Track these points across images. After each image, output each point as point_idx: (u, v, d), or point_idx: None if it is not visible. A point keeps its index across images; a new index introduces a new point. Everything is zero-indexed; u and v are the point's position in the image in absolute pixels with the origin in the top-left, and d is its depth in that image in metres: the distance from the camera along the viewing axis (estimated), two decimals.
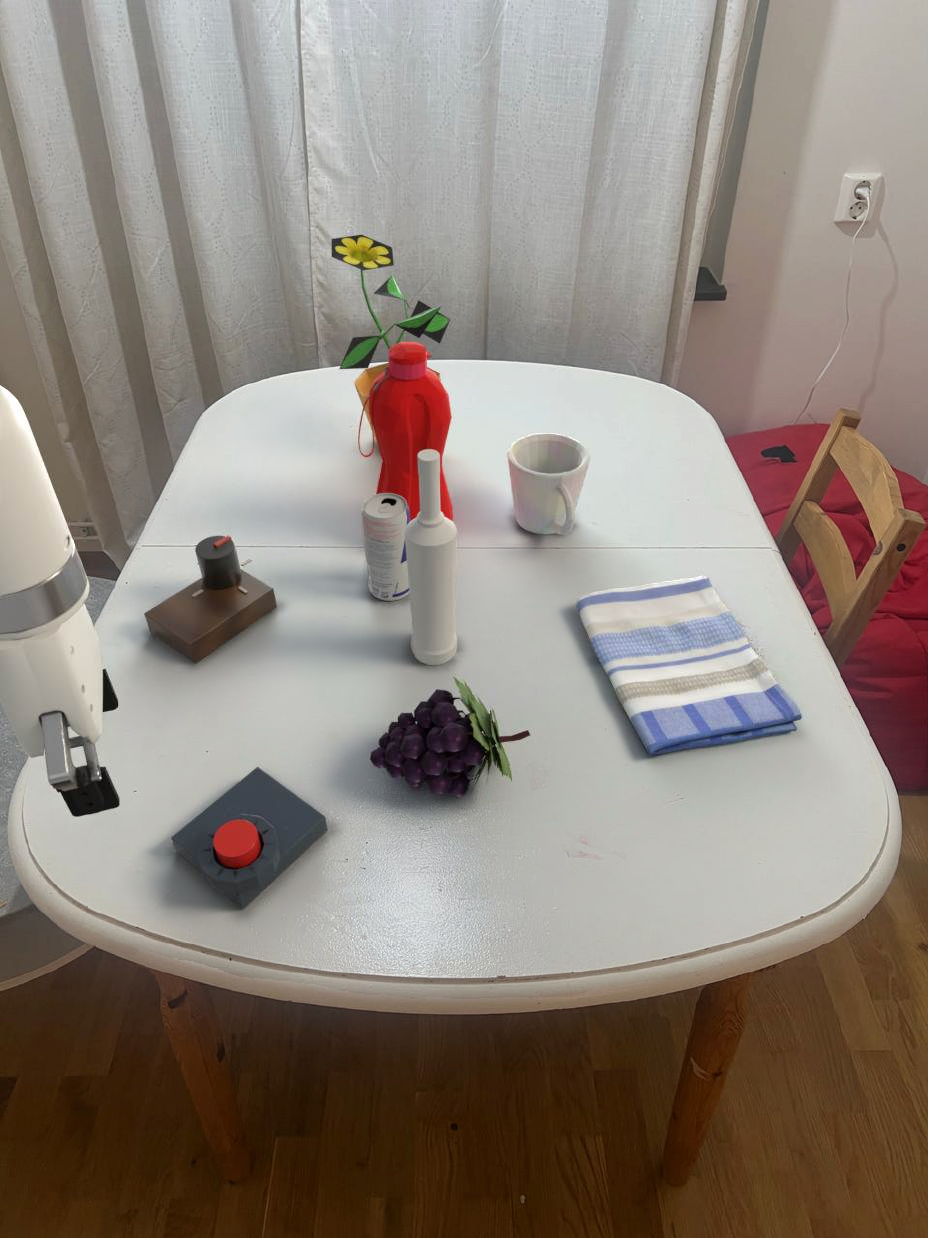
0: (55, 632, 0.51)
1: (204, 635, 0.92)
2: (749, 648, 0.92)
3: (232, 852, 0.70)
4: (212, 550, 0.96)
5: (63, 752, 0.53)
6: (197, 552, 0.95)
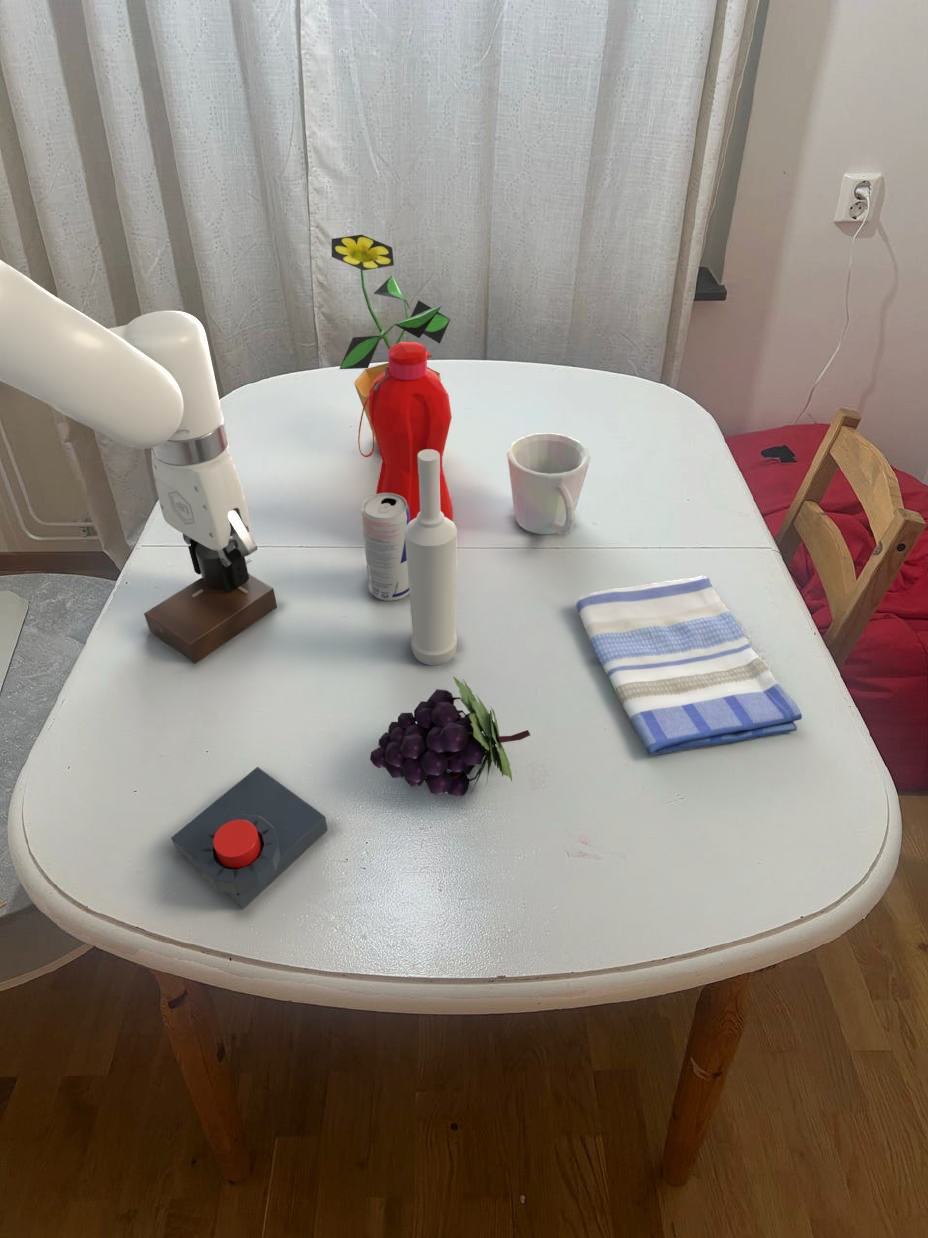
0: (229, 455, 0.87)
1: (204, 635, 0.92)
2: (749, 648, 0.92)
3: (232, 852, 0.70)
4: (212, 550, 0.96)
5: (249, 535, 0.91)
6: (197, 552, 0.95)
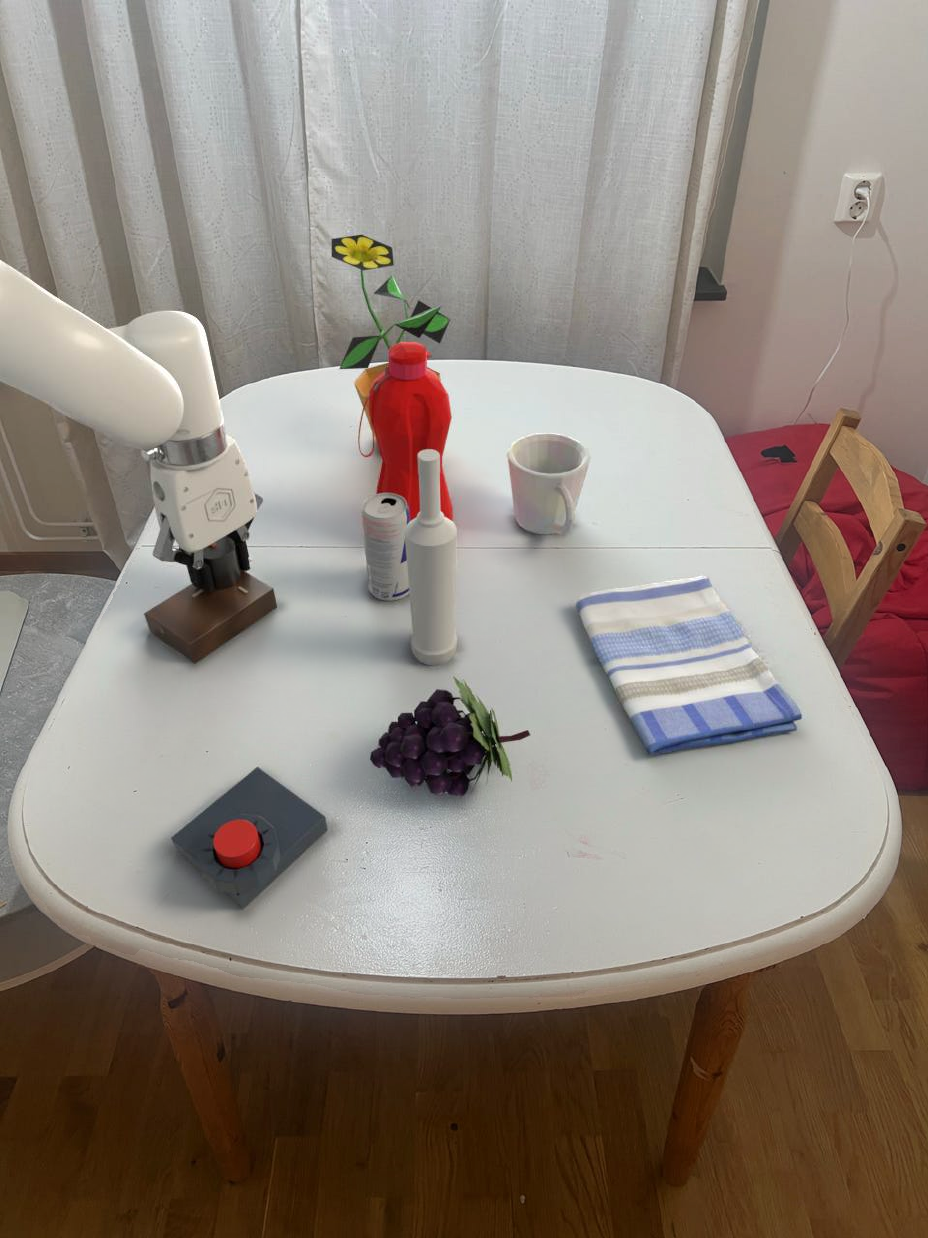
0: None
1: (204, 635, 0.92)
2: (749, 648, 0.92)
3: (232, 852, 0.70)
4: (221, 547, 0.96)
5: None
6: (221, 556, 0.95)
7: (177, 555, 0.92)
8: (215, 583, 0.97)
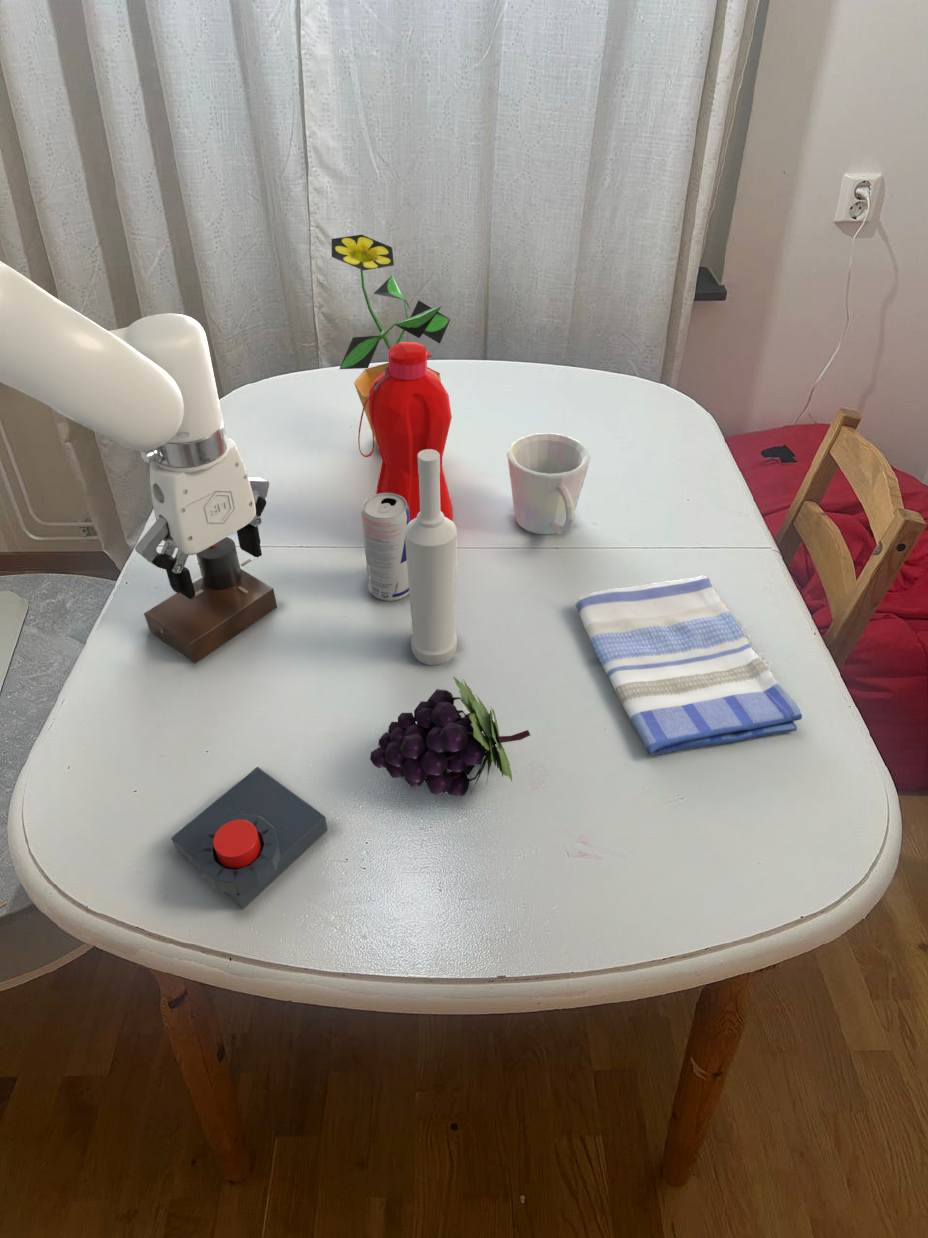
0: None
1: (204, 635, 0.92)
2: (749, 648, 0.92)
3: (232, 852, 0.70)
4: (221, 547, 0.96)
5: (252, 477, 0.97)
6: (221, 556, 0.95)
7: (158, 557, 0.90)
8: (215, 583, 0.97)
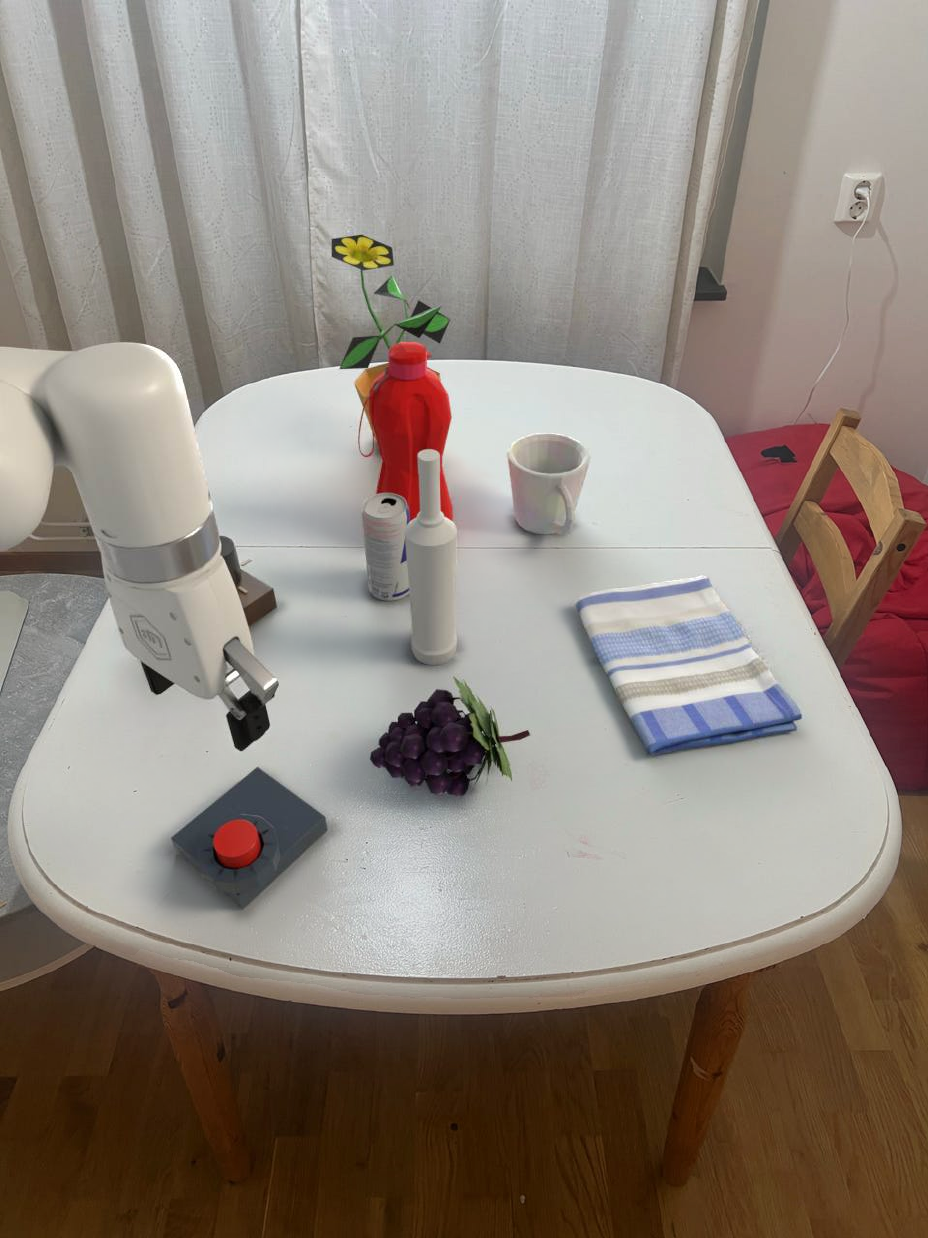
0: (223, 560, 0.57)
1: None
2: (749, 648, 0.92)
3: (232, 852, 0.70)
4: (221, 547, 0.96)
5: (261, 666, 0.59)
6: None
7: None
8: None
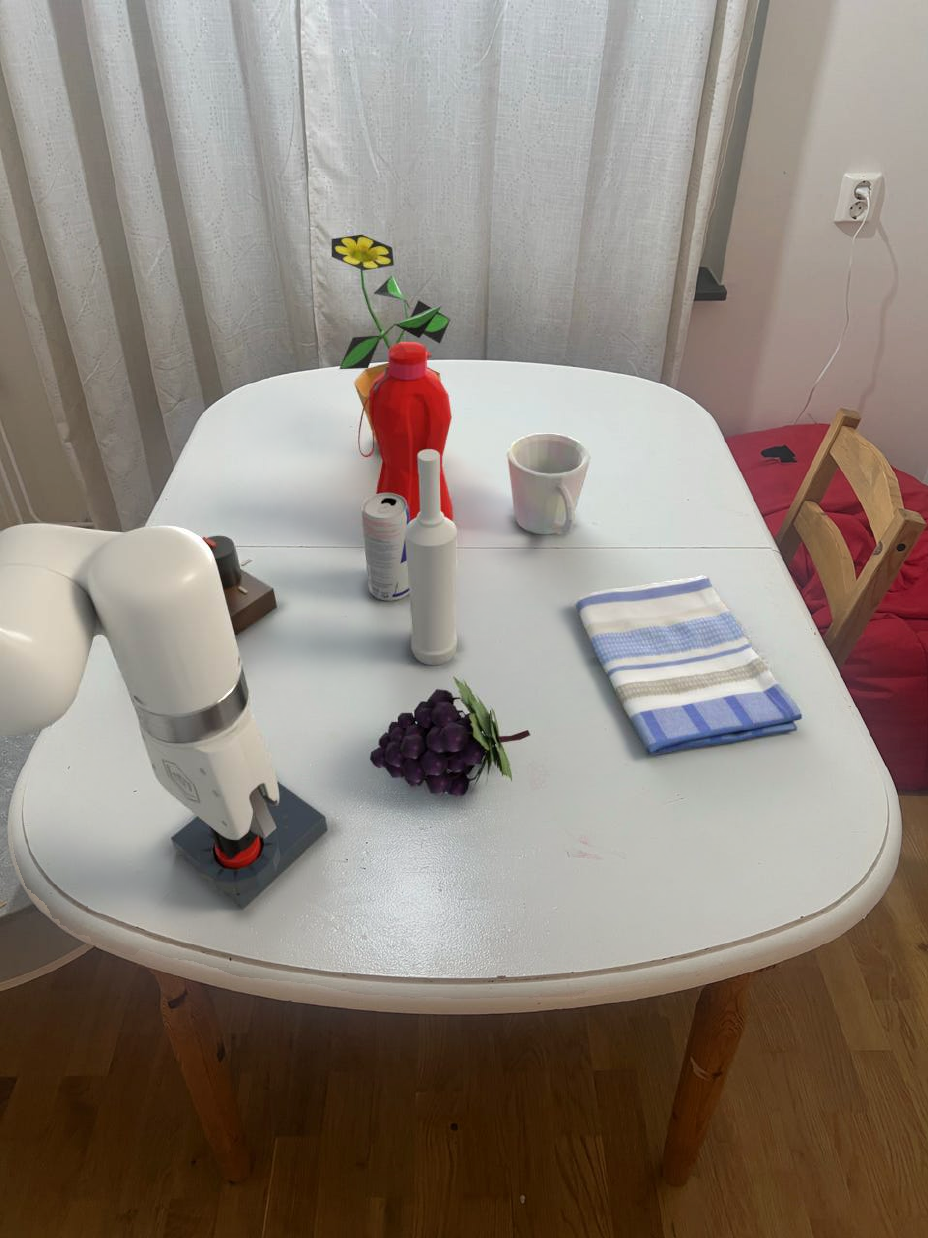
0: (251, 716, 0.59)
1: None
2: (749, 648, 0.92)
3: (234, 857, 0.70)
4: (221, 547, 0.96)
5: (269, 815, 0.64)
6: (221, 556, 0.95)
7: None
8: None
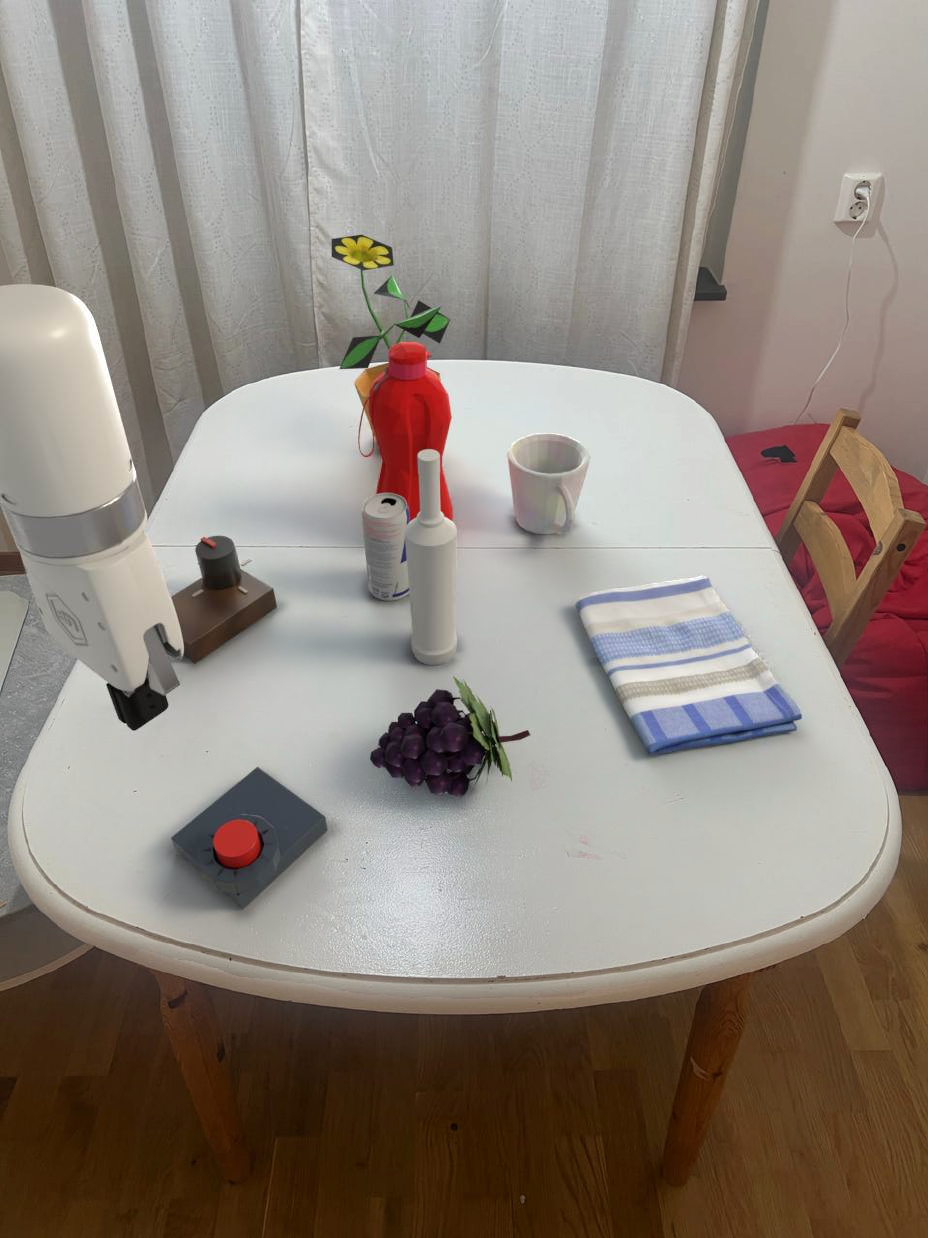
0: (146, 537, 0.51)
1: (204, 635, 0.92)
2: (749, 648, 0.92)
3: (232, 852, 0.70)
4: (221, 547, 0.96)
5: (171, 668, 0.55)
6: (221, 556, 0.95)
7: None
8: (215, 583, 0.97)
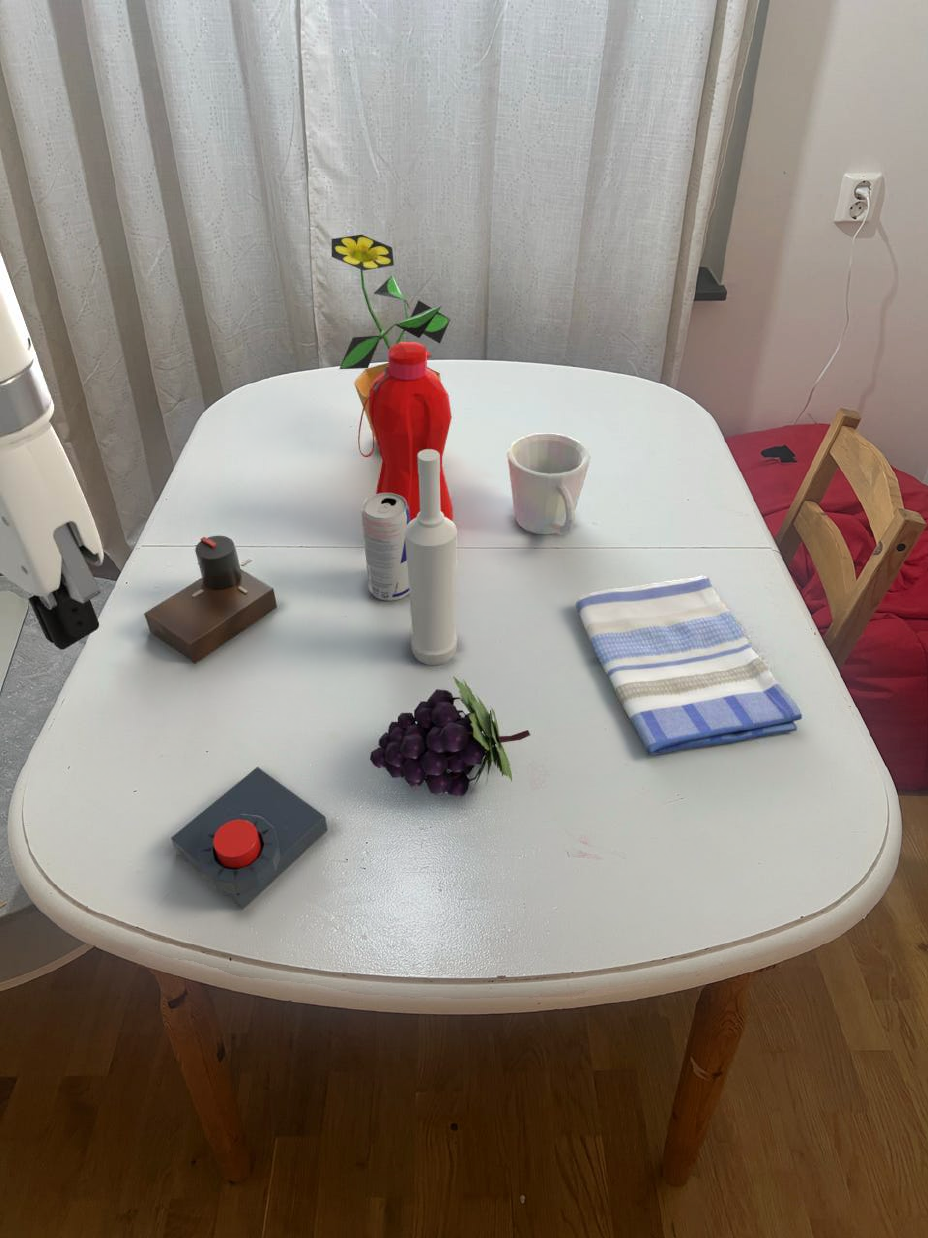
0: (50, 426, 0.48)
1: (204, 635, 0.92)
2: (749, 648, 0.92)
3: (232, 852, 0.70)
4: (221, 547, 0.96)
5: (89, 573, 0.53)
6: (221, 556, 0.95)
7: None
8: (215, 583, 0.97)
